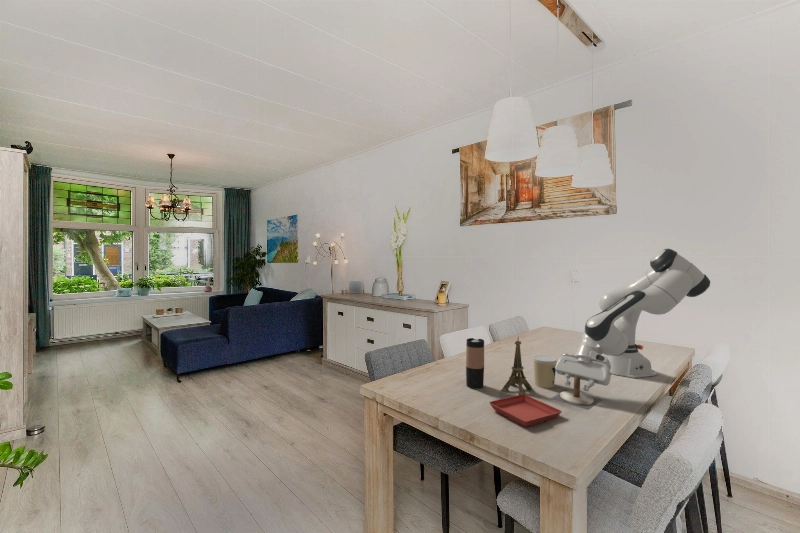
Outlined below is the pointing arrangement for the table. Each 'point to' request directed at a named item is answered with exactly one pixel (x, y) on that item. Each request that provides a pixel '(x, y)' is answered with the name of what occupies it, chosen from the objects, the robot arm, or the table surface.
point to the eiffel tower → (517, 370)
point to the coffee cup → (544, 371)
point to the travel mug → (474, 363)
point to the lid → (576, 395)
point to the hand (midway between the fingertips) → (576, 387)
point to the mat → (575, 404)
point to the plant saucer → (525, 409)
